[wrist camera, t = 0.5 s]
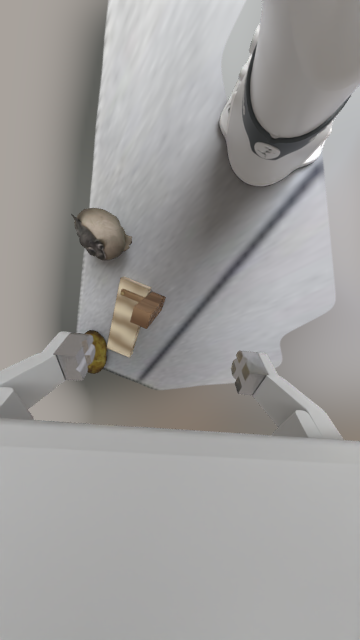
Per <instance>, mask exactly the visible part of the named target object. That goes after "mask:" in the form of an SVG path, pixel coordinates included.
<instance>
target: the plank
mask: <svg viewBox="0 0 360 640" xmlns="http://www.w3.org/2000/svg"><path fill="white" fill-rule="evenodd" d="M121 289H126V290H128V291H130V292H133V293H135V294H138V295H140V296H143V297H146V296H147V295H149V294H150V291H151V287H148V286H146V285H144V284H141V283H139V282H136V281H134V280H131V279H129V278H126V277H122V278H120V283H119V288H118V293H117V298H116V303H115V308H114V314H113V319H112V324H111V329H110V334H109V339H108V344H107V348H108V349H110V350H113V351H115V352H117V353H120V354H122V355H125V356H127V357H129V358H130V356H131V355H132V353H133V350H134V346H135V343H136V339H137V336H138V332H139V329H140V326H138V325H136V324H133V323H131V322H130V320H131V316H132V312H133V308H134V306H135V305H136V304H138V303H139V302H137V301H134V300H132V299H130V298H127V297H125V296H122V295H120V293H121Z"/></svg>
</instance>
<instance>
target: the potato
mask: <svg viewBox="0 0 360 640" xmlns="http://www.w3.org/2000/svg"><path fill="white" fill-rule="evenodd" d="M85 334H88V335H92V336H93V340H94V341H93V342H92V344H93V345H94V346H95V356H94V360H93V362H92V363H91V364H90V365H88V366H87V367H88V371H87V372H89V373H93V374H94V373H98V372H99V371H101V370H102V369H103V367H104V366H105V363H106V361H107V356H106V351H107V345H106V342H105V340H104V338H103V337H102V336H101V335H100V334H99V333H98V332H96V331H93V330H89V331H88V332H86V333H85Z"/></svg>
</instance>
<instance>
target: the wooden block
mask: <svg viewBox="0 0 360 640" xmlns="http://www.w3.org/2000/svg"><path fill="white" fill-rule="evenodd" d="M120 295H122V296H125V297H127V298H130V299H132V300H134V301H137V302H139V303H138V304H136V305H135V306H134V308H133V312H132V316H131V320H130V322H131V323H133V324H136V325H138V326H141V327H143V328H145V329H147V328H148V327H149V325H150V324H151V323H152V321H153V320H154V319H155V317H156V316H157V315H158V314H159V312H160V311H161V310H162V307H163V304H164V301H165V298H166V297H164V296H161V295H159V294H157V293H154V292H151V293H150V294H149V295H147V296H146V297H143V296H140V295H138V294H135V293H133V292H130V291H128V290H126V289H121V293H120Z"/></svg>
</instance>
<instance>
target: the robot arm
mask: <svg viewBox="0 0 360 640" xmlns="http://www.w3.org/2000/svg"><path fill="white" fill-rule="evenodd" d="M249 52H250V56H249V58H248V60H247V62H246V64H245V65H243V67H242V69H241V71H240V74H239V78H238V81H237V83H236V85H235V87H234V89H233V91H232V93H231V95H230V97H229V99H228V101H227V103H226V105H225V107H224V109H223V111H222V114H221V116H220V120H219V125H220V129H221V131H222V133H223V135H224V137H225V139H226V142H227V150H228V157H229V161H230V164H231V167H232V169H233V171H234V172H235V174H236V175H237V176H238V177H239V178H240V179H241V180H242V181H244V182H245V183H247V184H250V185H253V186H267V185H271V184H274V183H276V182H278V181H280V180H282V179H283V178H285V177H286V176H287V175H289V174H290V173H291V172H293V171H294V170H295V169H297V168H300V167H303V166H306V165H309V164H311V163H313V162H314V161H315V160H316V159H317V158H318V157H319V155H320V154H321V151H322V149H323V146H324V143H325V141H326V138H327V137H328V136H329V135H330V133H331V131H332V129H331V126H332V124H333V121H334V119H335V118H336V116H337V115H338V114H339V112H340V111H341V109H342V108H343V107H344V105H345V104H346V102H347V101H348V99H349V98H350V96H351V94H352V93H353V92H354V91H355V90H356V89H357V88H358V87H359V85H360V0H262V13H261V21H260V24H259V25H258V27H257V29H256V31H255V34H254V36H253V39H252V41H251V45H250V49H249ZM229 110H230V112H229V113H228V111H229ZM93 341H94V340H93V336H92V335H88V334H80V333H70V332H64V331H62V332H59V333H58V334H57V335H56V337H55V338H54V339H53V340H52V341H51V342H50V344H49V345H48V346H47V347H46V348H45V349H44V351H42V353H41V354H38V353H37V354H35V355H33V356H31V357H29V358H27V359H25V360H23V361H21V362H18V363H16V364H14V365H12V366H10V367H8V368H6V369H4V370H2V371H0V640H360V441H349V440H344V439H343V438H342V436H341V435H340V434H339V432H338V430H337V429H336V427H335V426H334V424H333V423H332V421H331V420H330V418H329V417H328V415H327V414H326V412H325V411H324V410H322V409H321V408H320V407H318V406H317V405H316V404H315V403H314V402H312V401H311V400H310V399H309V398H307V397H306V396H305V395H303V394H302V393H301V392H300V391H299V390H297V389H296V388H295V387H294V386H292V385H291V384H290V383H289V382H287V381H286V380H285V379H284V378H282V377H280V376H278V374H277V372H276V370H275V368H274V367H273V365H272V363H271V361H270V359H269V357H268V356H267V354H266V353H260V352H249V351H238V352H237V354H236V356H237V359H235V360H234V361H233V363H232V368H231V370H232V375H233V377H234V378H235V379H236V382H235V386H236V389H237V392H238V394H244V395H253V398H254V399H255V400H256V401H257V402H258V404H259V405H260V406H261V407H262V408H263V409H264V411H265V412H266V413H267V414H268V416H269V417H270V418H271V419H272V420H273V422H274V423H275V424H276V425H277V426H278V428H277V429H276V430H275V431H274V432H273V434H272V436H270V435H255V434H240V433H225V432H209V431H195V430H179V429H164V428H148V427H132V426H117V425H102V424H86V423H71V422H55V421H40V420H34V419H33V416H32V415H31V413H30V412H29V411H28V409H29V408H30V407H32V406H33V405H34V404H36V403H37V402H38V401H40V400H41V399H42V398H43V397H45V396H46V395H47V394H49V393H50V392H51V391H52V390H54V389H55V388H56V387H57V386H59V385H60V384H61V383H63V382H64V381H65V380H80V381H83V379H84V377H85V375H86V373H87V371H88V367H87V366H88V365H90V364H91V363H92V362H93V360H94V356H95V346H94V345H93V344H92V342H93Z"/></svg>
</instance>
